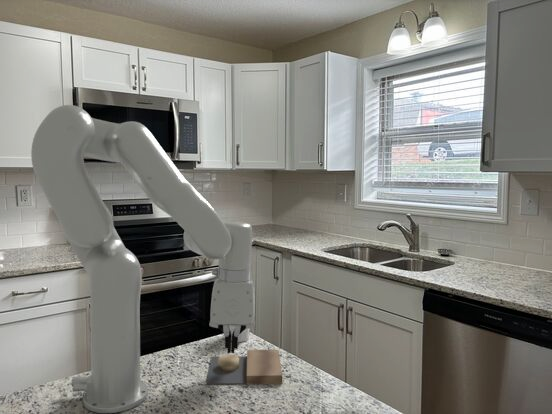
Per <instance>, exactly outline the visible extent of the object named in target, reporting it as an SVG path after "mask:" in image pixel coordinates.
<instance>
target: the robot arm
mask: <svg viewBox="0 0 552 414" xmlns="http://www.w3.org/2000/svg"><path fill="white" fill-rule="evenodd" d="M30 150H31V152H30V154H31V157H30V158H31V165H32V169H33V172H34V174H35V177H36V180H37V182H38V184H39V186H40V187H41V188H40V189H42V191H43V193H44V196H45V197H46V199H47V201H48V203H49V205H50V206H51V208H52V210H53V212H54V213H55V216H56V217H57V219H58V221H59V223H58V224H59V226H60V229H61V231H62V233H63V235H64V237H65V238H66V240H67V242H68V244H69V245H70V248H72V250H73V251H74V254H75V255H76V257H77V259H78V260H79V262H80V264H81V265H82V267H83V269H84V270H85V272H86V274H87V275H88V278H89V282H90V283H89V284H90V295H89V296H90V297H89V298H90V300H89V303H90V304H89V326H90V327H89V328H90V364H91V365H90V367H91V368H90V371H91V374H89V375H88V376H86V377H85V376H73V377H72V379H71V383H70V385H71V386H72V391H73V392H84V395H83V396H82V397H83V399H82V401H83V402H82V403H83V406H84V407H85V408H86V409H87V410H88V411H91V412H94V413H97V414H113V413H114V414H115V413H119V412H120V413H121V412H124V411H127V410H130V409H133V408H135V407H137V406H138V405H140V404H141V403H143V402H144V401H145V400H146V398H147V397H148V395H149V387H148V385H147V383H146V382H144V381H143V380H141V324H140V323H141V322H140V318H141V317H140V314H141V313H140V307H141V305H140V304H141V293H142V292H141V291H142V290H141V289H142V283H143V282H142V281H143V274H142V267H141V263H140V262H139V259H138V258H137V256H136V255H135V253H133V252H132V251H131V250H129V249H128V248H126V246H125V244H124V242H123V241H122V239H121V237H120V236H119V234H118V232H117V230H116V228H115V226H114V224H115V223H114V219H113V216H112V213H111V211H110V210H109V208H108V207H107V205H106V203H105V202H104V201H103V199H102V198H101V196H100V193H99V192H98V190H97V188H96V186H95V185H94V182H93V181H92V177H91V175H90V174H89V172H88V170H87V168H86V165H85V161H84V157H85V158H88V159H89V158H90V159H95V160H100V161H106V162H112V163H119V164H121V165H122V166H123V167H124V168H125V170H126V171H127V172H128V173H129V174H130V176H131V177H132V178H133V180H134V181H135V183H136V184H137V185H138V186H139V187H140V189H141V190H142V192H143V193H145V194H144V195H146V197H147V198H148V199H149V200H150V202H152V203H153V205H154V206H156V207H157V208H159V209H160V210H161V211H162V212H164V213H166V214H167V215H168V216H169V217H171V218H172V219H173V220H174V221H175V222H176V223H177V224H178V225H179V226H180V227H181V228H182V229H183V230H184V232H183V243H184V244H185V246H186V247H187V249H189V250H190V251H191V252H193V253H196V254H197V255H200V256H202V257H203V258H206V259H208V260H213V261H214V260H218V267H217V268H212V271H211V275H212V276H213V275H214V276H215V277H217V278H215V280H214V282H213V287H212V292H211V301H210V302H211V303H210V320H209V327H211V328H215V329H219V331H220V332H221V333H222V334H223V336H224V349H227V354H235V350H237V349H238V348H239V347H238V345H239V342H238V336H239V334H241V333H242V332H243V331H244V330H245V329H249V328H250V329H253V328H255V327H256V323H255V311H256V310H255V309H256V308H255V305H256V304H255V298H256V297H255V287H254V286H255V285H254V281H253V280H252V279H251V266H252V247H253V246H252V245H253V244H252V243H253V227H252V225H251V224H250V223H249V222H248V223H247V222H243V221H226V222H224V221H223V220H222V219H221V217H220V216H219V215H218V213H217V211H216V210H215V209H214V208H213V206H211V204H210V203H209V202H208V201H207V200H206V199H205V198H204V197H203V196H202V194H201V193H199V192H198V191H197V189H196V188H195V187H194V186H193V185H192V184H191V183H190V182H189V180H187V179H186V178H185V176H184V175H183V173H182V172H181V171H180V169H179V168H178V167H177V166H176V165H175V164H174V162H173V160H172V159H171V158H170V156H169V155H168V153H166V151H165V150H164V148H163V147H162V146H161V145H160V143H159V142H158V140H157V139H156V138H155V136H154V135H153V133H152V132H151V131H150V130H149V129H148V127H146V126H145V125H144V124H142V123H141V122H138V121H134V120H133V121H125V122H121V123H118V122H117V123H116V122H110V121H107V120H102V119H97V118H94V117H91V115H90V114H89V113H88V112H87V111H86V110H84V109H83V108H82V107H80V106H77V105H72V104H64V105H60V106H58V107H56V108H54V109H52V110H51V111H50V112H49V113H48V114H47V115H46V116H45V118H44V119H43V120H42V121H41V123H40V124H39V126H38V127H37V129H36V131H35V134H34V137H33V138H32V144H31V149H30ZM229 325H235V330H234V331H233V333H231V331H230V328H229ZM250 329H249V330H250ZM231 336H232V342H231Z"/></svg>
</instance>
